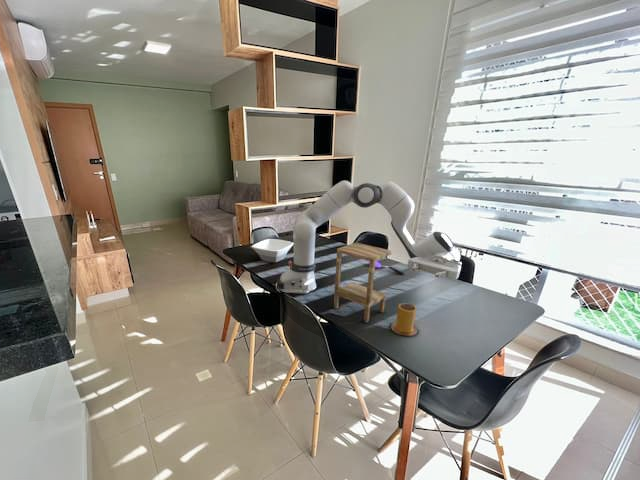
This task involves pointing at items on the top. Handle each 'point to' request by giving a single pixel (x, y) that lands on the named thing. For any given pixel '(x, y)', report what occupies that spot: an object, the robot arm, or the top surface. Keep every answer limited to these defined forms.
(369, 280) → the rack
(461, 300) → the top surface
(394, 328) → the coaster
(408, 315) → the cup
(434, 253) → the robot arm
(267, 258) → the bowl
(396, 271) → the spatula
